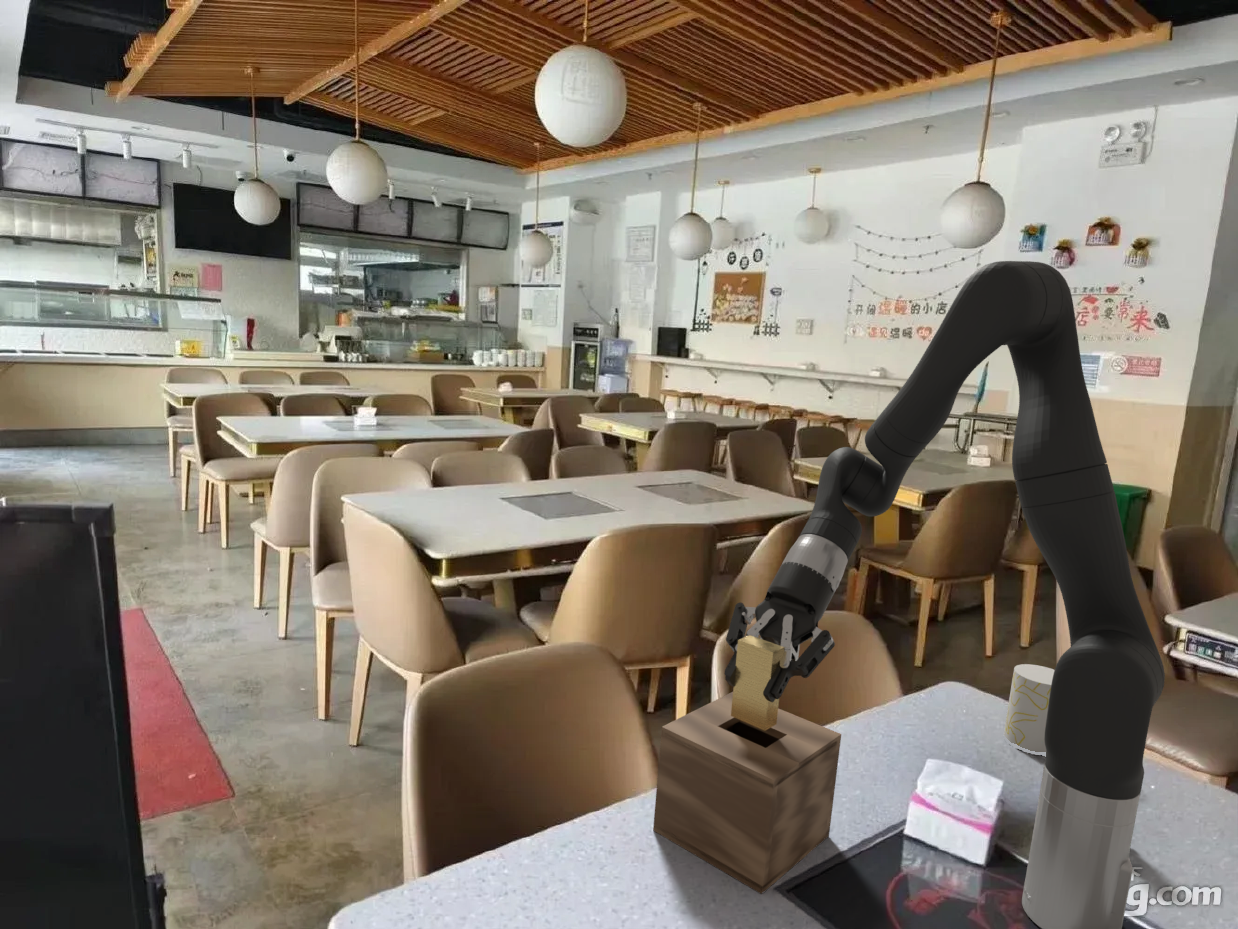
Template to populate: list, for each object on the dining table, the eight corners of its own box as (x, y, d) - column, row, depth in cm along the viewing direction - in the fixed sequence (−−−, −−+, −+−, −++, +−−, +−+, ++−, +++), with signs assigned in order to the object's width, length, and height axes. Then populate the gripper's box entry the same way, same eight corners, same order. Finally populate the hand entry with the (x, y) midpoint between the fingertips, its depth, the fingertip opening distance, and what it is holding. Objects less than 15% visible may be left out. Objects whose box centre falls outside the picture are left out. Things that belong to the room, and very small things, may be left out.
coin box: (725, 784, 115) (734, 690, 112) (828, 836, 104) (841, 734, 102) (653, 830, 103) (661, 726, 101) (761, 894, 92) (773, 780, 90)
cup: (992, 733, 136) (1002, 665, 134) (1031, 729, 138) (1042, 662, 137) (1029, 758, 128) (1041, 687, 126) (1070, 754, 131) (1082, 683, 129)
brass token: (742, 709, 104) (749, 635, 102) (776, 724, 100) (784, 647, 99) (730, 715, 102) (738, 639, 100) (765, 730, 99) (773, 652, 97)
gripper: (752, 548, 108) (689, 657, 101) (852, 575, 99) (791, 697, 92) (769, 579, 113) (711, 685, 106) (866, 608, 104) (809, 726, 97)
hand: (748, 690), depth 99 cm, fingers closed on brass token, 5 cm apart
